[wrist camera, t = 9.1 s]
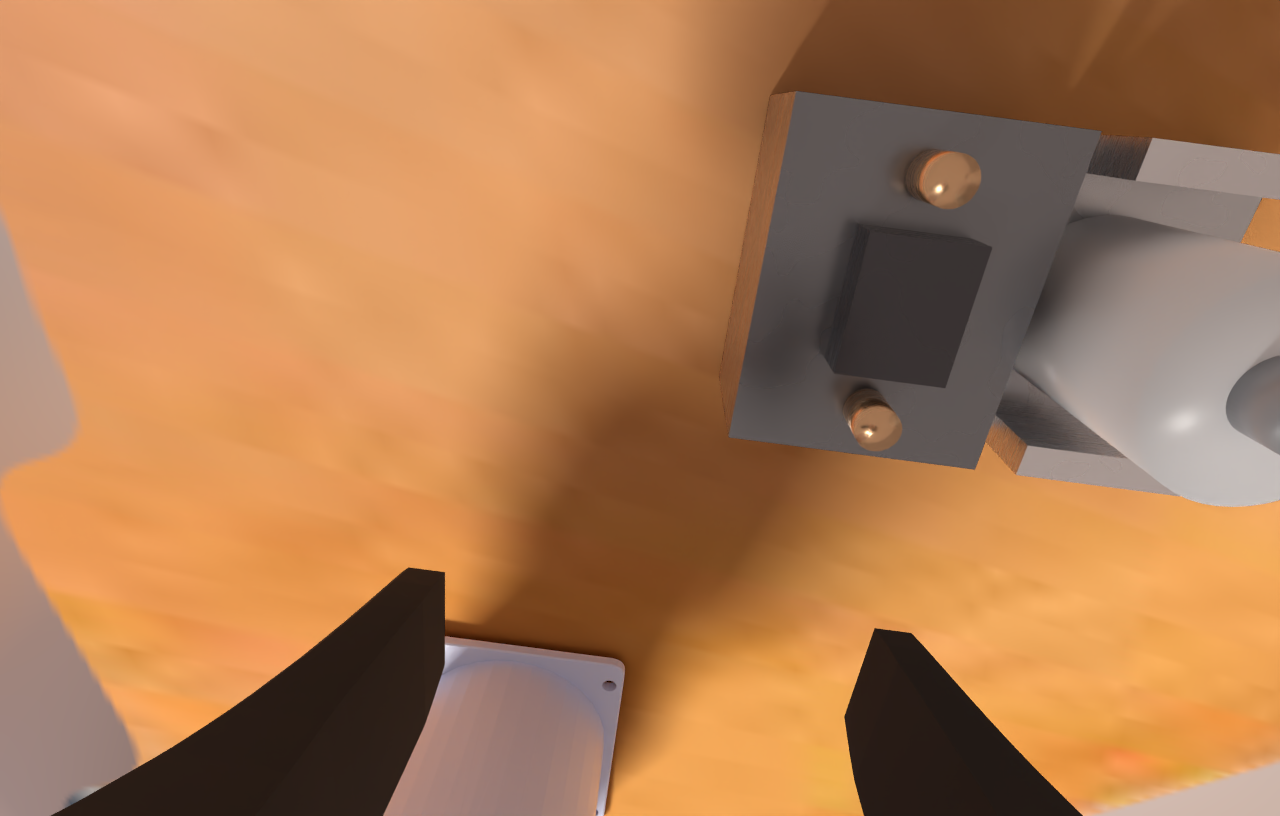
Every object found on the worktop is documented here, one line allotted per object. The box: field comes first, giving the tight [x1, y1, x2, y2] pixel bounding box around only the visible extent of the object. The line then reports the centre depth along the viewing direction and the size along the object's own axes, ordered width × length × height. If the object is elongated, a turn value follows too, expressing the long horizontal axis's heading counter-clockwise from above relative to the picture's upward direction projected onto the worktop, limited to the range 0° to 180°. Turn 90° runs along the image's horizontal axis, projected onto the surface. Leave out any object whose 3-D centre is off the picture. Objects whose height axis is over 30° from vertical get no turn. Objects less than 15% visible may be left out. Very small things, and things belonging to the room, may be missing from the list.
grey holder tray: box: [719, 91, 1280, 496], centre depth 16 cm, size 8×12×5 cm, turn 83°
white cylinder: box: [1013, 215, 1280, 507], centre depth 14 cm, size 5×5×7 cm
